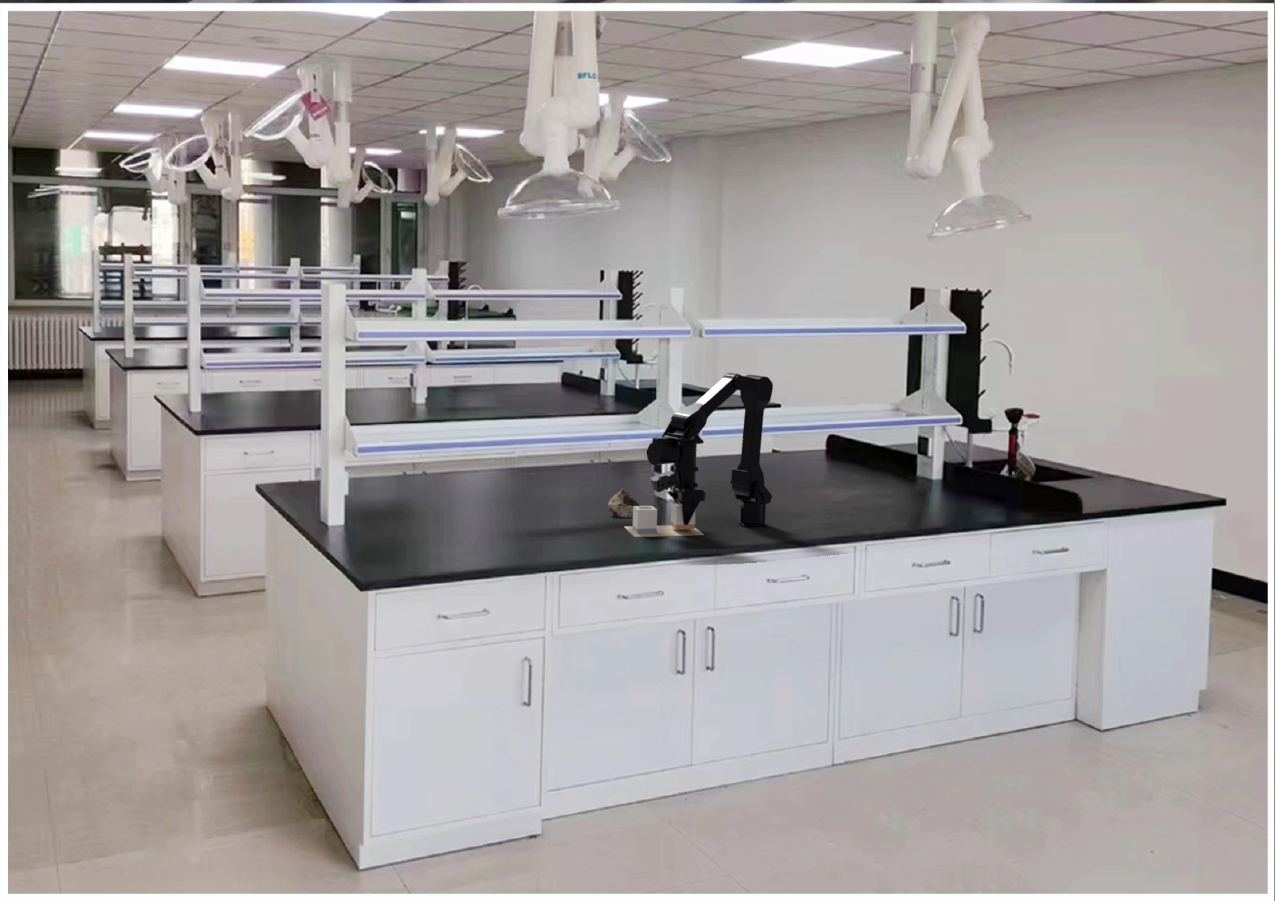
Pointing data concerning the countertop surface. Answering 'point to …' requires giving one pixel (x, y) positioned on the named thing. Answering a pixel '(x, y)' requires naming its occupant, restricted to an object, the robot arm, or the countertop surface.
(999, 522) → the countertop surface
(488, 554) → the countertop surface
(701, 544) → the countertop surface
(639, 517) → the seated sleeve
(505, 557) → the countertop surface
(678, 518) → the banded sleeve
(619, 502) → the rock
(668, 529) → the pin board
